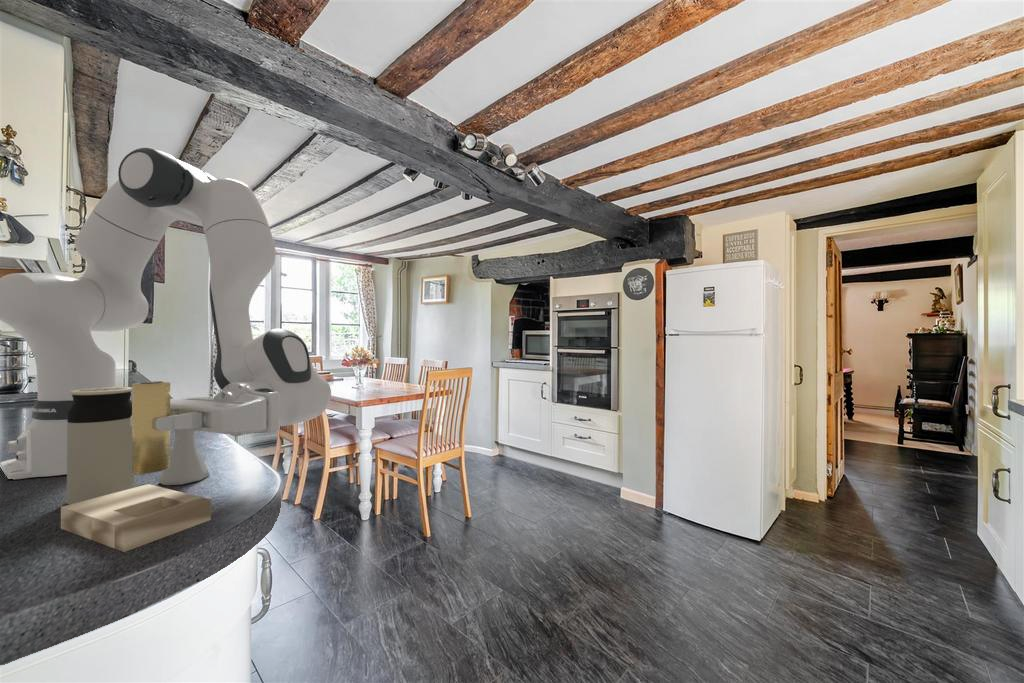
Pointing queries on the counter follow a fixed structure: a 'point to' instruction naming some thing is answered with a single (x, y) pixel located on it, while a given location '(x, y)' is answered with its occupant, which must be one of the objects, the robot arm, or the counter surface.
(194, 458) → the flask
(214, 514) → the counter surface
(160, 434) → the gold metal post
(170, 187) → the robot arm
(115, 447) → the travel mug
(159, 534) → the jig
